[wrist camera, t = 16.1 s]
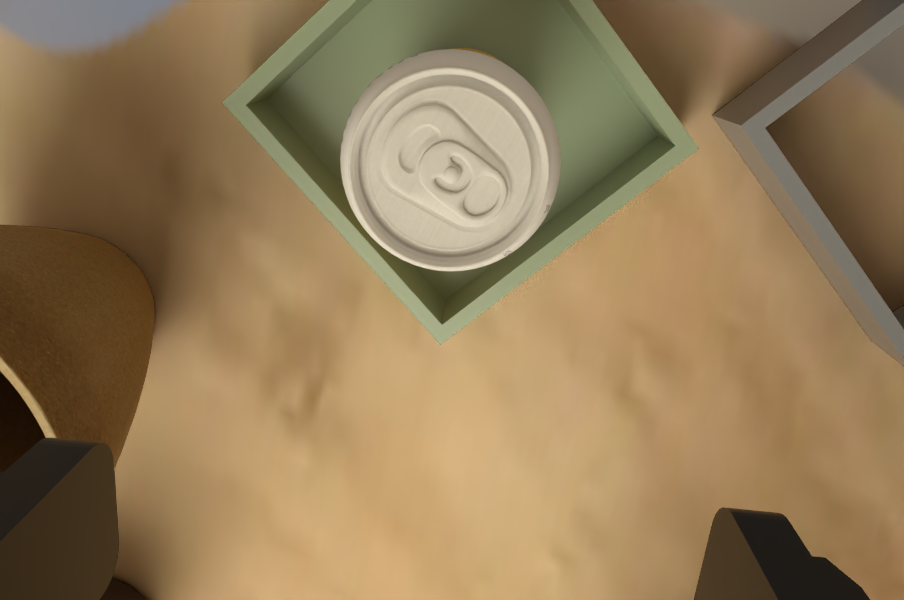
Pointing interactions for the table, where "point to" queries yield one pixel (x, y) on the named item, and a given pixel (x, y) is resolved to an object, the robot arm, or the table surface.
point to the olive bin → (517, 45)
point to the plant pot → (69, 339)
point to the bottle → (120, 592)
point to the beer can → (450, 160)
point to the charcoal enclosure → (745, 126)
